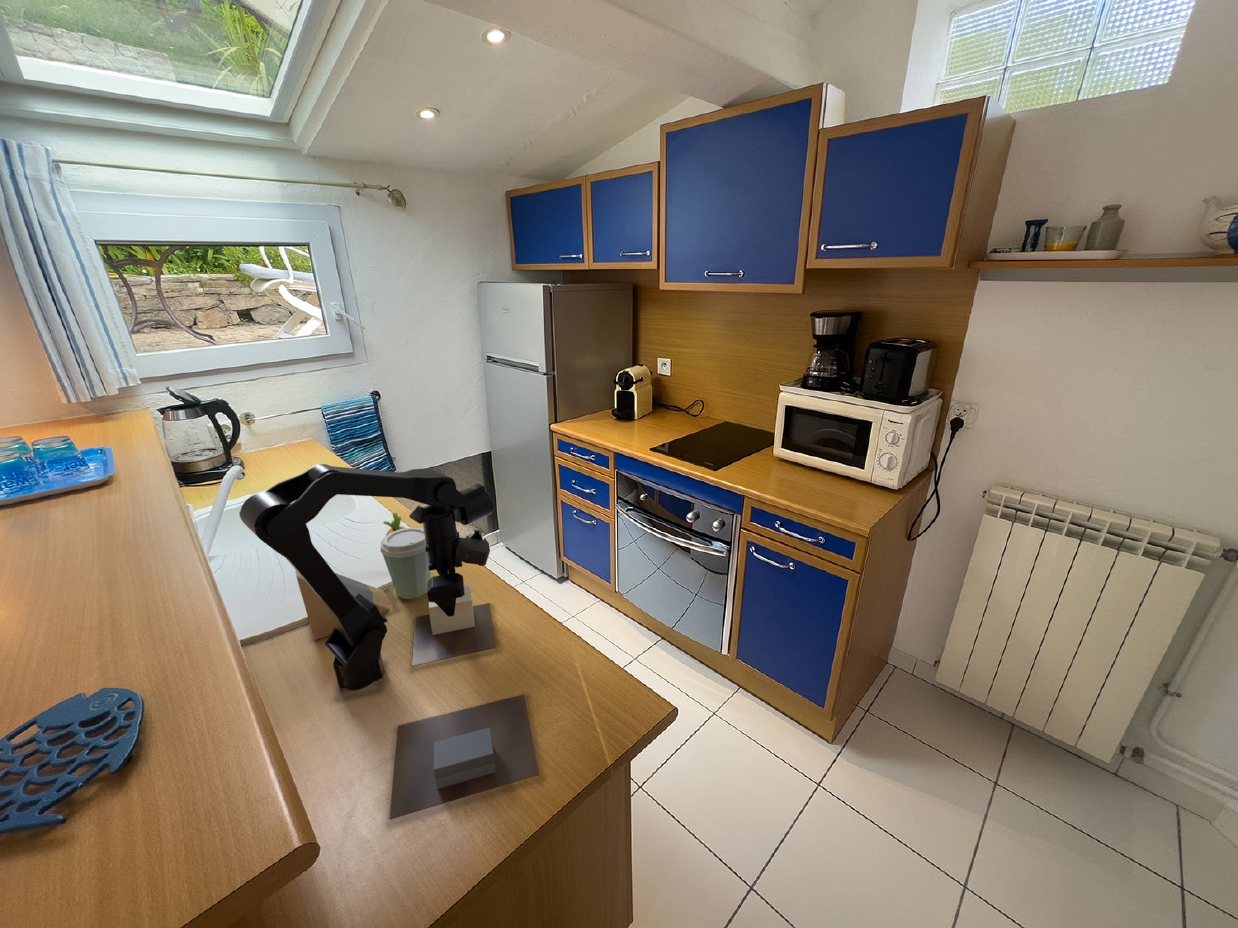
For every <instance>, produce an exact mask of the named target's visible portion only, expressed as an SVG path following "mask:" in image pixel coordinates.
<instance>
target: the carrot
mask: <svg viewBox="0 0 1238 928" xmlns="http://www.w3.org/2000/svg"><path fill="white" fill-rule="evenodd" d="M392 517H393V520H392V521H391V522H390V521H386V520H385V521H383V524H384V525H387V526H388V527H389V529H388V530H387V532H386V534H385V537H386V536H387V535H388V534H389V533H391V532H394V531H397V530H399V529H404V528H406V527H404V526H402V525H401V521H402V517H401V516H399V515H398V513H397V512H393V513H392Z"/></svg>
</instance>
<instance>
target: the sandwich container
mask: <svg viewBox="0 0 1238 928" xmlns="http://www.w3.org/2000/svg"><path fill="white" fill-rule="evenodd" d="M294 570H295V575H296V581H297V584H298V588H299V591H300V595H301V598H302V601H303V604H304V608H305V612H306V616H307V619H308V623H309V627H310V629H311V633H312V636H313V640H314V641H317V640H321V639H324V638H326V637H329V636H330V634H331V632H332V631H333V629H334V628H335V626H334V623H333V621H332V619H331V616H330V611H329V609H328V607H327V606H326V605H325V604H324V603H323V601H322V600H321V599H320V598H319V597H318V596H317V594H316V593H315V592H314V591H313V590H312V588H311V587H310V586H309V585H308V584H307V583H306V581H305V580H304V579H303V578H302V577H301V575H300V574H299V573H298V572H297V571H296V569H295V568H294ZM334 573H335V574H336V575H337V577H338V578H339V579H340V580H341V582H342V583H343V584H344V586H345V587H346V588H347V589H348V591H349V592H350V593H351V595H352V596H353V597H354V598H355V597H356V596H357V595H358V594H359V593H360V592H361V593H362V594H363V595H364V596H366V597H367V598H368V599H369V600H370V601H371V602H372V603H374V604H375V605H376V606H377V608H378V610H379V612H380V614H383V613H385V612H388V611H390V610H391V604H390V601H389V599H388V597H387V595H386V593H385V591H384V590H383V589H381V588H377V587H374V586H371V585H370V584H369V585H368V584H366V583H363V582H361V581H358V580H355V579H353V578H350V577H347V576H345V575H342V574H340V573H337V572H334Z"/></svg>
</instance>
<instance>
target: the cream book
mask: <svg viewBox="0 0 1238 928" xmlns="http://www.w3.org/2000/svg"><path fill="white" fill-rule="evenodd" d="M464 591H465V595H464V596H462V597H459V598H456V605H455V612H459V611H464V610H470V609H473V606H474V605H473V604H474V603H473V595H472V586H471V583H468V584H464ZM428 611H429V614H430V617H433V616H438V615H444V614H445V613H444V612H443V611H442V609H441V608H440V607H439V606H438V605H437V604H436V603H434V602H429V601H428Z"/></svg>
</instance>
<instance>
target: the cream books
mask: <svg viewBox="0 0 1238 928" xmlns="http://www.w3.org/2000/svg"><path fill="white" fill-rule="evenodd" d="M430 621H431V627H432V633H433V635H435V634H440V633H445V632H450V631H455V630H460V629H465V628H470V627H474V626H475V625H474V614H473V609H470V610H464V611H459V612H454V616H451V617H448V616H447V615H446V614H444V615H438V616H433V617H430Z"/></svg>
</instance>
